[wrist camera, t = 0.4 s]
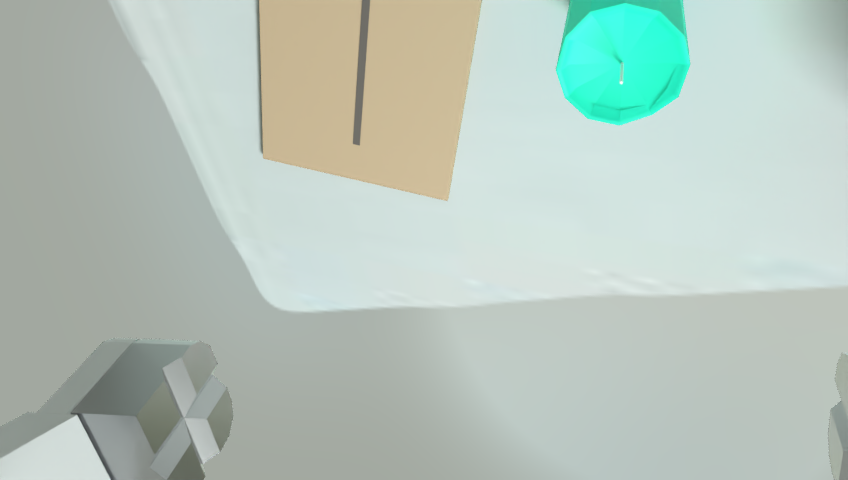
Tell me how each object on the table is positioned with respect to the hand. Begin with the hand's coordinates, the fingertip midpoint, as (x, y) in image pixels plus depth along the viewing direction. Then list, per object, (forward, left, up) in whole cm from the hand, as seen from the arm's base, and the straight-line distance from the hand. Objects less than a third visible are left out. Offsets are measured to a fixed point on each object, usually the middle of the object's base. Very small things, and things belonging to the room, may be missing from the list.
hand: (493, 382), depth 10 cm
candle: (+7, +3, -37) cm, 38 cm away
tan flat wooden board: (+15, -12, -37) cm, 42 cm away
